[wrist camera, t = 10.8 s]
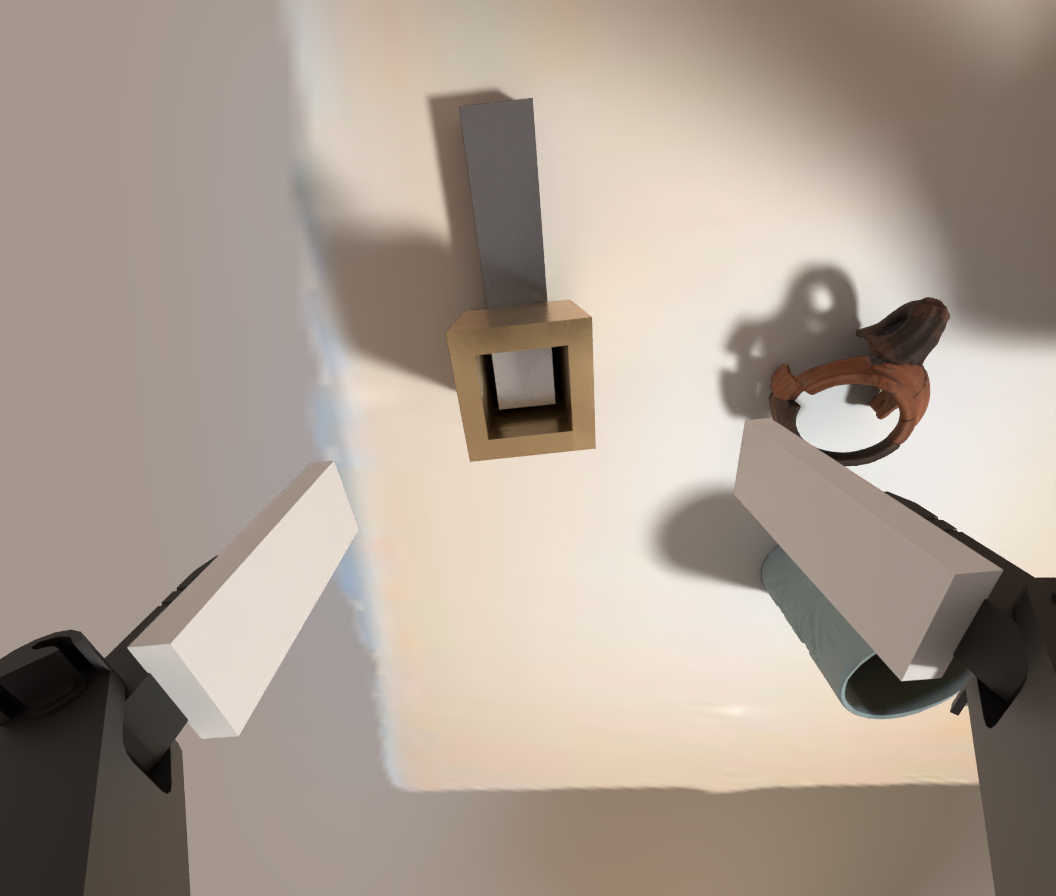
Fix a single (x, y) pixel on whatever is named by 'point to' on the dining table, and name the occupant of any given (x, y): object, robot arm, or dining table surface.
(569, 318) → the hollow square tube
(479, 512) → the dining table surface
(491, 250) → the grey handled bowl
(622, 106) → the dining table surface
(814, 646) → the grey green cup
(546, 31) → the dining table surface
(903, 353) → the ring-shaped clay flask
